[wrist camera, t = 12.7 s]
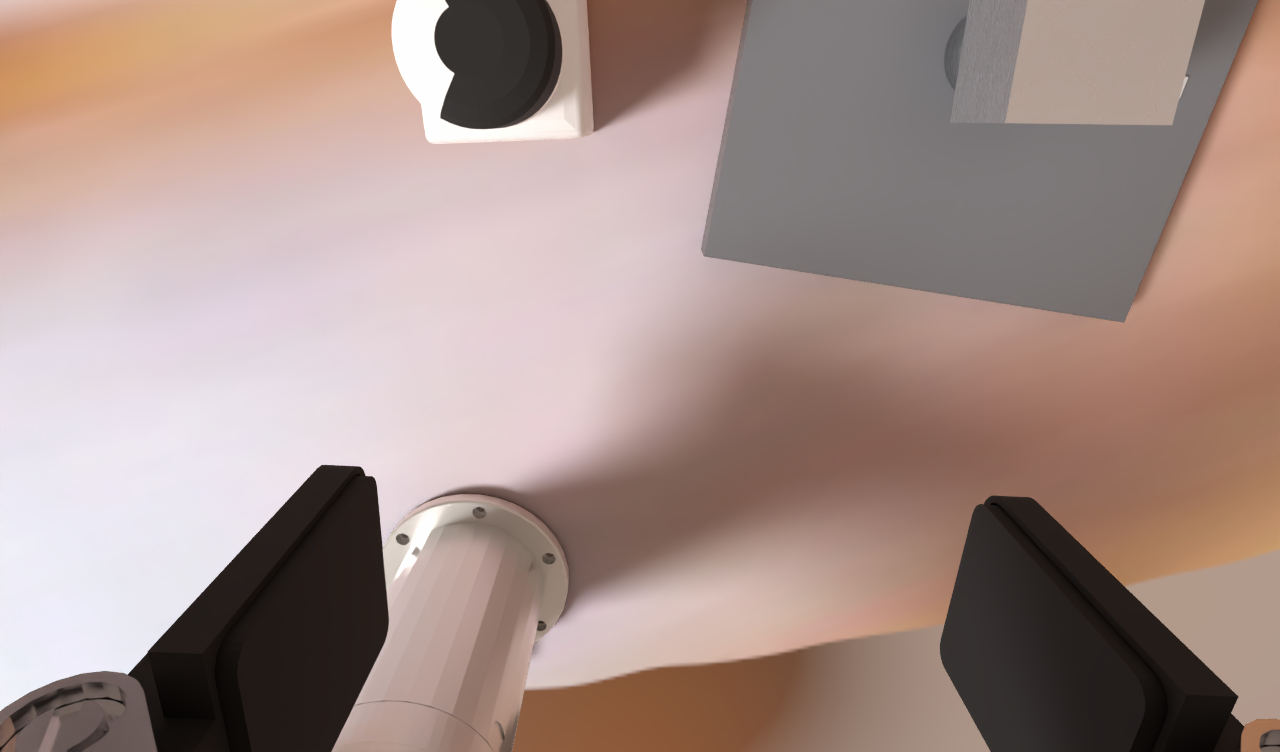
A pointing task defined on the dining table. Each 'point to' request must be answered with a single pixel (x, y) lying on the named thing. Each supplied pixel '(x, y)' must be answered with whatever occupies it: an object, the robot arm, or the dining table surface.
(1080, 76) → the mallet
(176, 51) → the dining table surface
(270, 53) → the dining table surface
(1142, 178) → the base board
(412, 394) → the dining table surface
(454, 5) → the medicine bottle
